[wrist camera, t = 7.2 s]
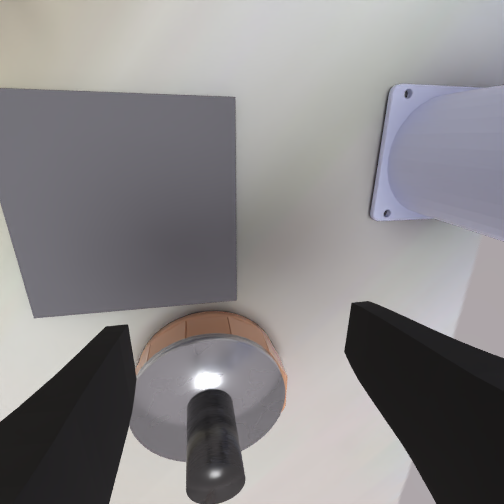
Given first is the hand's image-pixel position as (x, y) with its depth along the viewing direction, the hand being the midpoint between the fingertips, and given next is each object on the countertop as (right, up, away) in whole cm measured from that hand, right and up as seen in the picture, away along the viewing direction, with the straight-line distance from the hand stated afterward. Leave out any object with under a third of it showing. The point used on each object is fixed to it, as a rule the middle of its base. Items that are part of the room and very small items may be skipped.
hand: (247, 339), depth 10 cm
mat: (-7, +5, +7) cm, 11 cm away
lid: (-3, -6, +9) cm, 12 cm away
